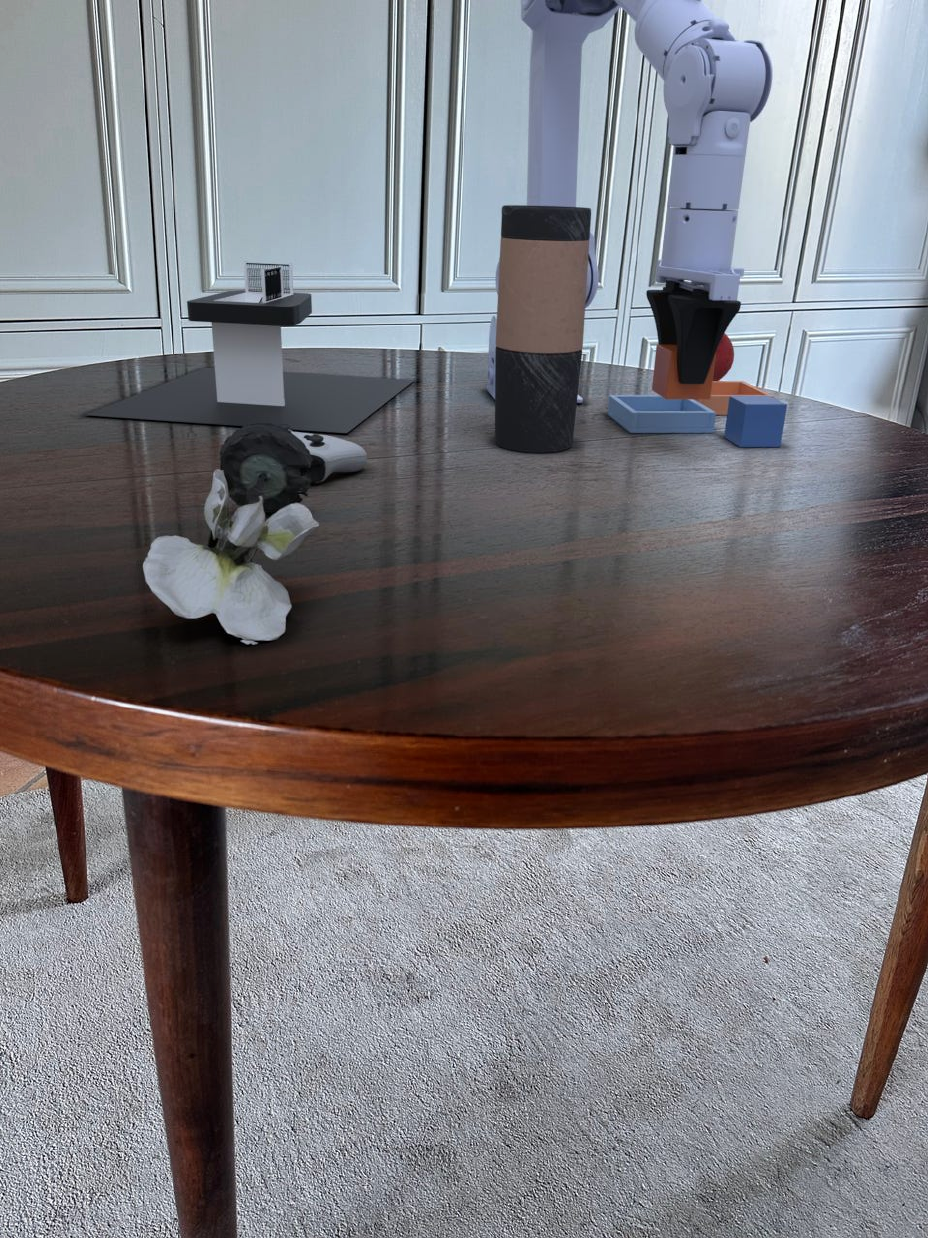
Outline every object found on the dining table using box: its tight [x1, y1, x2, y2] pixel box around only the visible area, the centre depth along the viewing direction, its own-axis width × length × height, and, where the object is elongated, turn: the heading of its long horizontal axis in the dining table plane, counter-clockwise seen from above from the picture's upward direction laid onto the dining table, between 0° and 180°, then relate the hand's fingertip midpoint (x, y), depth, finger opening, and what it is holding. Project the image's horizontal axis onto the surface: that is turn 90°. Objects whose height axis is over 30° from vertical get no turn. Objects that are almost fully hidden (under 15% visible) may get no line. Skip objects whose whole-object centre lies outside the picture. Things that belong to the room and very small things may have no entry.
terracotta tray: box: [694, 380, 775, 416], centre depth 108 cm, size 8×8×2 cm
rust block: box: [651, 344, 716, 399], centre depth 86 cm, size 4×4×4 cm
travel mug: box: [494, 204, 592, 454], centre depth 86 cm, size 8×8×20 cm
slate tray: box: [606, 394, 717, 434], centre depth 99 cm, size 8×8×2 cm
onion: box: [713, 332, 735, 381], centre depth 116 cm, size 6×6×8 cm
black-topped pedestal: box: [85, 260, 415, 434], centre depth 103 cm, size 28×26×13 cm
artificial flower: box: [142, 423, 320, 646], centre depth 58 cm, size 9×22×10 cm, turn 179°
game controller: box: [278, 424, 368, 484], centre depth 79 cm, size 10×5×6 cm
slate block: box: [723, 396, 788, 448], centre depth 93 cm, size 4×4×4 cm
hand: (682, 378), depth 86 cm, fingers closed on rust block, 4 cm apart
